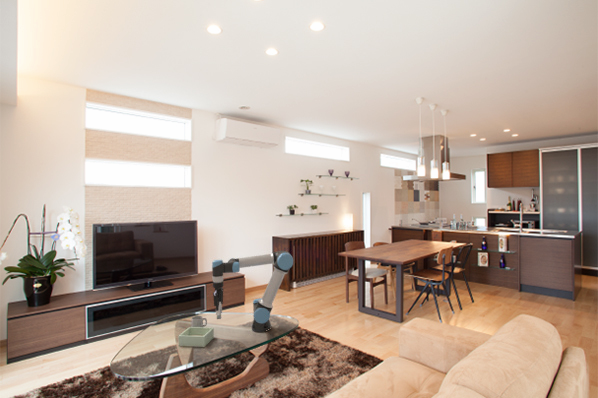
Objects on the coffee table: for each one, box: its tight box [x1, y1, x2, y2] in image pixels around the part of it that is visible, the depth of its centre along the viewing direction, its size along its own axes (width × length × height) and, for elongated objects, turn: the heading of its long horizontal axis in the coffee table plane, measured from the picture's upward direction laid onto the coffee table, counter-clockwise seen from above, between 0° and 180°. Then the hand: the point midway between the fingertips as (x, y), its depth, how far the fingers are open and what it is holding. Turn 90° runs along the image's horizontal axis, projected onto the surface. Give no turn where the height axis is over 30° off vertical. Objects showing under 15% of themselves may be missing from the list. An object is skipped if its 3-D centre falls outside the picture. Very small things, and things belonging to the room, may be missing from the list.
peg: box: [216, 301, 222, 320], centre depth 241 cm, size 3×3×12 cm
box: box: [177, 326, 215, 348], centre depth 238 cm, size 19×16×7 cm
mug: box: [190, 315, 208, 328], centre depth 257 cm, size 12×8×11 cm
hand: (218, 313), depth 241 cm, fingers closed on peg, 3 cm apart
